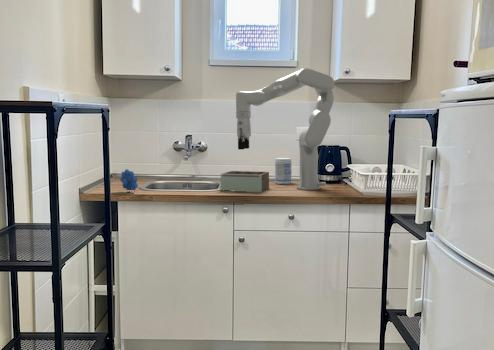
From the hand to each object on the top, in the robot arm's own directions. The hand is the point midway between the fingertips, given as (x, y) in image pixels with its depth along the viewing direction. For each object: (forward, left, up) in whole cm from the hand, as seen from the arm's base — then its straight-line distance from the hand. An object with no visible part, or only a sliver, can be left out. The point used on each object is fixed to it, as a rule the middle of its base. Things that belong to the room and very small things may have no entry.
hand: (243, 148), depth 247 cm
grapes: (+56, +23, -22) cm, 64 cm away
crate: (0, -2, -22) cm, 22 cm away
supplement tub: (-14, -32, -22) cm, 41 cm away
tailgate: (0, +6, -22) cm, 23 cm away
